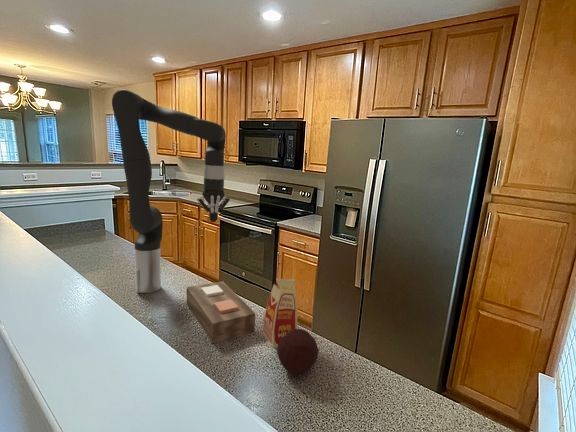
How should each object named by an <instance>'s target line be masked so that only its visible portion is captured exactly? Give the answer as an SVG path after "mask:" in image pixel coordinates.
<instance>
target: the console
mask: <svg viewBox="0 0 576 432" xmlns="http://www.w3.org/2000/svg"><path fill="white" fill-rule="evenodd" d="M214 285H218V286H219V287H220V288H221V289H222V290H223V294H221V295H216V296H211V297H205V295H204V294H203V293H202V292H201V288H202V287H208V286H214ZM230 299H231V300H232V301H233V302H234V303H235V304H236V305H237V306H238V310H237V311H232V312H228V313H224V314H219V313H218V312H217V310H216V309H215V308H214V303H215V302H220V301H225V300H230ZM186 305H187V307H188V309H189V310H190V311H191V313H192V314H193V316H194V317H195V319H196V320H197V322H198V324H199V325H200V327H201V329H202V330H203V331H204V333H205V334H206V336H207V338H208V339H209V341H210V342H211V344H215V343H219V342H222V341H227V340H230V339H234V338H237V337H241V336H245V335H248V334H252V333H255V331H256V328H255V327H256V315H257V313H256V312H255V311H254V310H253V309H252V308H251V307H250V306H249V305H248V304H247V303H246V302H245V301H244V300H243V299H241V297H240V296H239V295H238V294H237V293H235V291H234V290H233V289H232V288H231V287H230V286H229V285H228V284H227V283H225V282H224V281H223V280H222V281H217V282H216V281H215V282H210V283H205V284H198V285H194V286H193V285H192V286H187V287H186Z"/></svg>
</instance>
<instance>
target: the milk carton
mask: <svg viewBox="0 0 576 432" xmlns="http://www.w3.org/2000/svg"><path fill="white" fill-rule="evenodd" d="M275 279H276V282H274V283H273V285H272V287H271V288H272V289H271V291H270V294H269V297H268V300H267V304H266V309H265V312H264V317H263V323H262V324H263V326H262V333H263V335H264V337H265V339H266V340H267V342H268V343H269V344H270V346H271V347H272V349H274V348H276V349H277V347H278V344H279V342H280V341H281V340H282V338H283V337H284V336H285V335H286V334H287V333H289V332H290V331H291V330H294V329H298V305H297V304H298V303H297V292H296V286H295V282H297V280H296V279H293V278H292V279H284V278H279V277H278V278H275Z"/></svg>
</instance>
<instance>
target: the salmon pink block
mask: <svg viewBox="0 0 576 432" xmlns="http://www.w3.org/2000/svg"><path fill="white" fill-rule="evenodd" d="M214 308H215V309H216V310H217V312H218V313H219V314H224V313H228V312H232V311H237V310H238V306H237V305H236V304H235V303H234V302H233V301H232V300H231V299H230V300H225V301H220V302H215V303H214Z"/></svg>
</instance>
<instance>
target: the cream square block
mask: <svg viewBox="0 0 576 432" xmlns="http://www.w3.org/2000/svg"><path fill="white" fill-rule="evenodd" d="M201 292H202V293H203V294H204V295H205V297H211V296H216V295H221V294H223V290H222V289H221V288H220V287H219V286H218V285H214V286H208V287H202V288H201Z"/></svg>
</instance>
